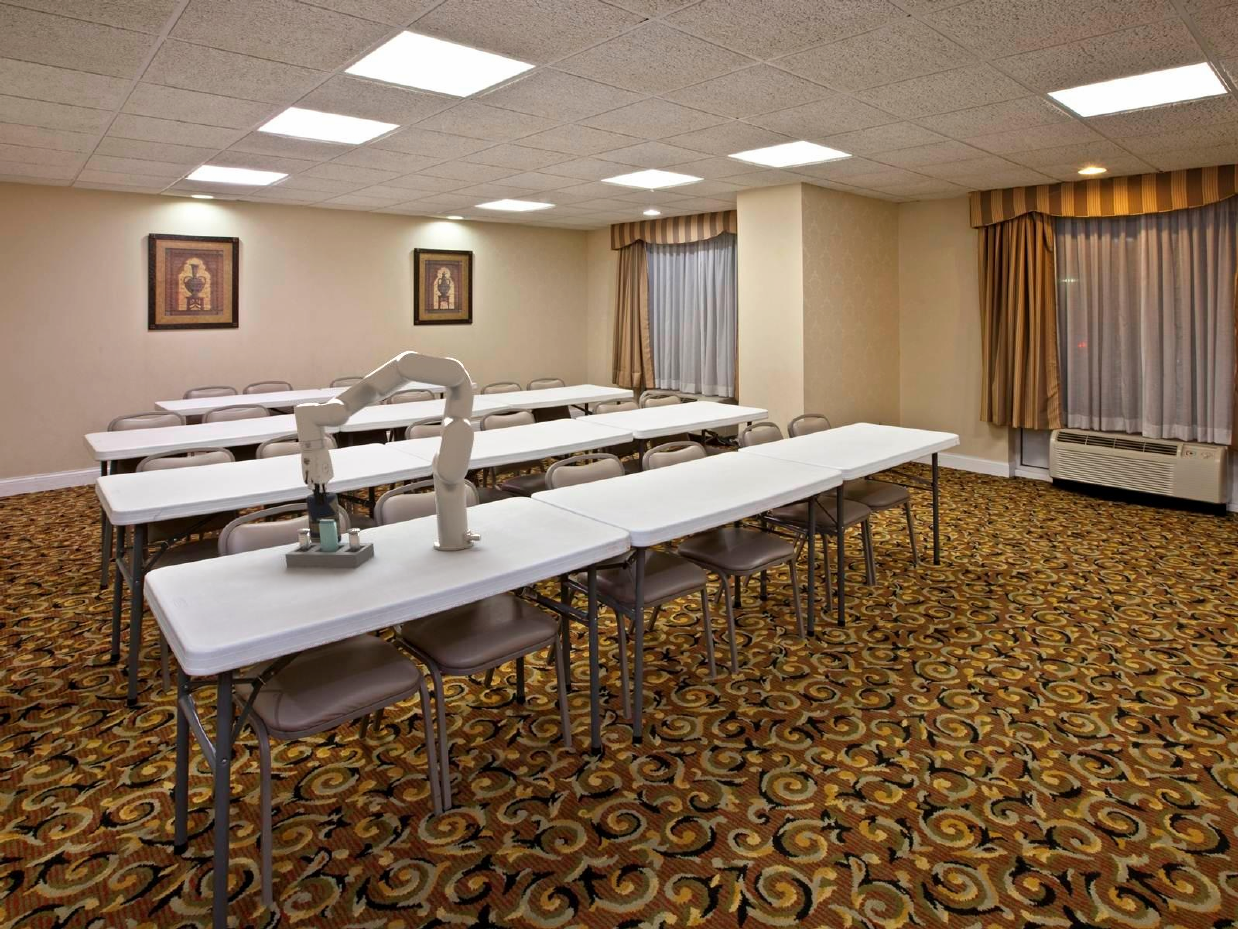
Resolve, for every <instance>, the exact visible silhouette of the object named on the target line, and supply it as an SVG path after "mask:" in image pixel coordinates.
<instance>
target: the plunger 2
mask: <svg viewBox="0 0 1238 929" xmlns="http://www.w3.org/2000/svg"><path fill="white" fill-rule="evenodd" d="M346 533H347V534H348V543H349V544H350V552H358V551H359V550H361V548H360V543H361V540H360V533H361V528H358V527H353V528H349V529H347V530H346Z"/></svg>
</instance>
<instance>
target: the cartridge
mask: <svg viewBox="0 0 1238 929" xmlns="http://www.w3.org/2000/svg"><path fill="white" fill-rule="evenodd" d="M319 529H320V538H321V547H322V552H336V551H338V550H339V547H338V537H337V527H336V522H335V520H320V524H319Z"/></svg>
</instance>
